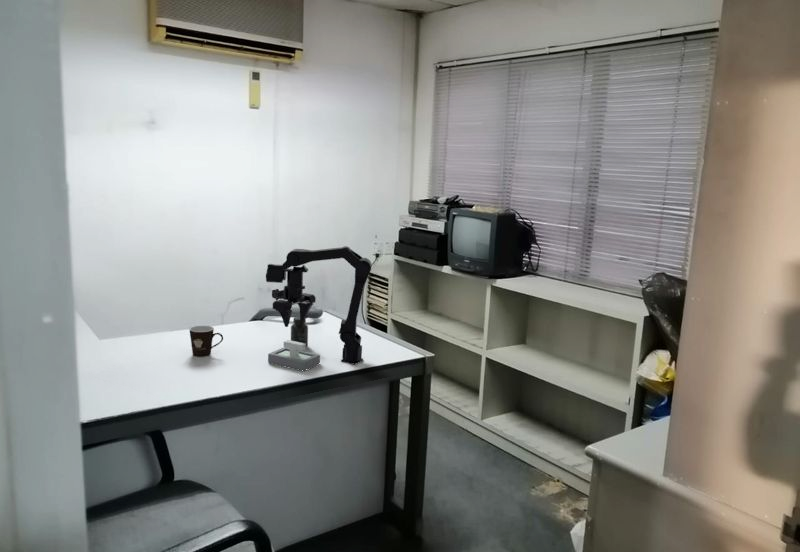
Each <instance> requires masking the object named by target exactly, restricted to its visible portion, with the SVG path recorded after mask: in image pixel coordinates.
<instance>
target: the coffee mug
mask: <svg viewBox="0 0 800 552" xmlns="http://www.w3.org/2000/svg"><path fill="white" fill-rule="evenodd" d="M188 331H189V337H190V342H191V343H190V344H191V345H190V346H191V352H192V356H194V357H195V358H206V357H209V356H211V354H212V353H211V352H212V349H213V348H215V347H217V346H218V345H220V344H221V343H222V342H223V340H224V336H223V334H222V333H220V332H214V331H215V327H213V326H210V325H194V326H192V327H190V328H189V330H188ZM217 335H218V336H220V337H221V340H220V341H219V342H217V343H215V344H214V345H213V338H214V337H215V336H217Z"/></svg>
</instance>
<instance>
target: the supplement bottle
mask: <svg viewBox="0 0 800 552" xmlns="http://www.w3.org/2000/svg"><path fill="white" fill-rule="evenodd" d="M292 323H293V324H291V326H290V340H291V341H295V342H300V343H304V344H306V347H307V348H308V346H309V345H308V344H309V326H308V324H306V323H307V321H306V317H305V319H304V321H303V322H301V321H300V316H295V317H293V321H292Z"/></svg>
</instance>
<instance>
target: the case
mask: <svg viewBox="0 0 800 552" xmlns="http://www.w3.org/2000/svg"><path fill="white" fill-rule="evenodd" d="M284 351H290V348H287V347H284V346H283V347H280V348H278V349H276V350H274V351H272V352H269V353H267V354H268V355H267V356H268V357H267V363H268V362H269V363H268V364H271V363H273V364H272V365H275V364H277V365H276V366H279V365H281V366H280V367H283V366H286V367H285V368H287V367H290V368H289V369H291V368H294V369H293V370H295V369H299V370H303V371H304V372H306V371H307V370H306V369H309V368H311V367H313V366H315V365H317V364H319V363H320V364H321V354H317V353H313V352H309V351H306V350H305V351H304V350H302V351H300V350H299V354H303V355H308V356H312V357H310V358H307V359H305V360H300V359H296V358H291V357H287V356H283V355H279V353H281V352H284ZM320 364H319V365H320ZM317 366H318V365H317ZM315 367H316V366H315ZM313 368H314V367H313ZM311 369H312V368H311ZM299 370H298V371H299ZM305 370H306V371H305ZM309 370H310V369H309ZM303 371H302V372H303Z"/></svg>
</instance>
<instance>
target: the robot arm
mask: <svg viewBox="0 0 800 552" xmlns="http://www.w3.org/2000/svg"><path fill="white" fill-rule="evenodd" d="M339 259H344V260H345V261H346V262H347V263H348V264H349V265H350V266H351V267H353V268H354V269H355V270H354V271H355V272H354V285H353V290H352V295H351V299H350V303H349V307H348V313H347V316H346V319H341V321H340V327H339V331H338V335H339V338H340V340H341V342H342V343H344V344H343V347H342V358H341V359H340V361H341V362H342V361H345V362H344V363H346V362H349V363H348V364H351V363H354V364H353V365H357V364H359V363H361V362H362V361H361V360H363V359H364V358H363V357H362V356H363V355H362V353H363V345H361V342H362V336H361V335H360V334H359V333H358V332H357V327H358V326H357V323H358V322H357V320H358V314H359V309H360V304H361V301H362V297H363V293H364V287H365V284H366V283H367V280H368V278H369V277H370V274H371V271H372V262H371V260H370V259H369V258H367V257H362V256H361V255H360V254H358V253H357V252H355V251H354V250H353V249H352V248H350V247H349V246H347V245H345V246H342V247H341V246H340V247H334V248H322V249H321V248H320V249H314V250H313V249H305V248H293V249H292V250H290V251H289V252H288V253H287V255H286V260H285V261H284V262H283V263H282V264H273V263H268V264H267V269H266V274H265V281H266V283H277V284H279V283H281V284H282V283H283V282H284V281H286V285H284V286H283V289H282V290H279V288H275V289H272V290H271V297H272V299H275V300H274V301H273V302H272V309H273V310H275V311H276V312H278V313H279V314H280V317H281V319H282V322H283V325H284V327H285V328H288V327H289V324H290V321H291V317H292V313H293V309H292V308H293V306H294V305H298V307H299V317H300V321H301V322H303V321H304V319H305V318H306V317H307V316H308V313H309V312H310V310H311V308H312V306H313V305H314V303H316V298H317V297H316V296H315V295H314V294H311V293H307V292H303V290H305V289H306V286H305V285H304V283H303V282H304V273H308V272H309V268H308V267H306V266H305V264H308V263H311V262H318V261H328V260H339ZM292 267H293V268H292ZM360 361H361V362H360ZM363 361H364V360H363ZM358 362H359V363H358ZM356 363H357V364H356Z"/></svg>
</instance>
